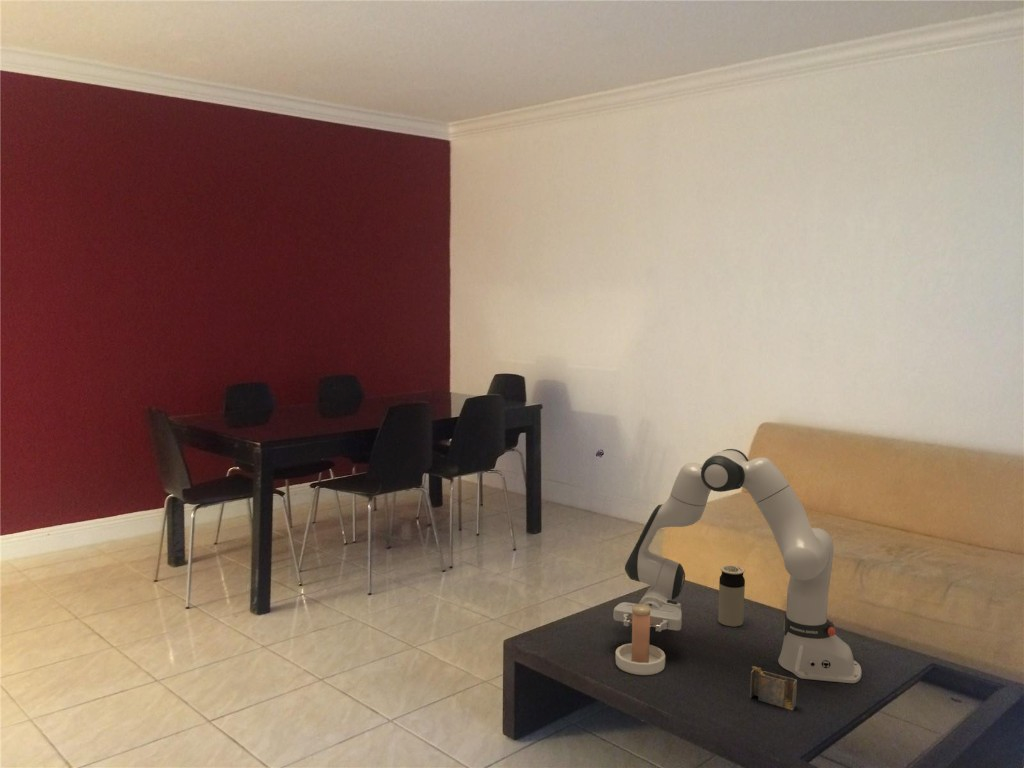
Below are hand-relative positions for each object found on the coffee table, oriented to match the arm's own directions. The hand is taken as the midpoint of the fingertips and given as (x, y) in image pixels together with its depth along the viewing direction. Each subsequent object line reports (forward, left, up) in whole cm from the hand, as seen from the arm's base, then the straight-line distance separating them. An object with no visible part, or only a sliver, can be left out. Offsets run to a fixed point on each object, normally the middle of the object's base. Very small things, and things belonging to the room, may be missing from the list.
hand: (641, 626), depth 241 cm
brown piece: (-38, +9, -12) cm, 40 cm away
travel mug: (-20, -40, -11) cm, 46 cm away
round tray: (0, +1, -11) cm, 11 cm away
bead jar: (0, +1, -10) cm, 10 cm away
